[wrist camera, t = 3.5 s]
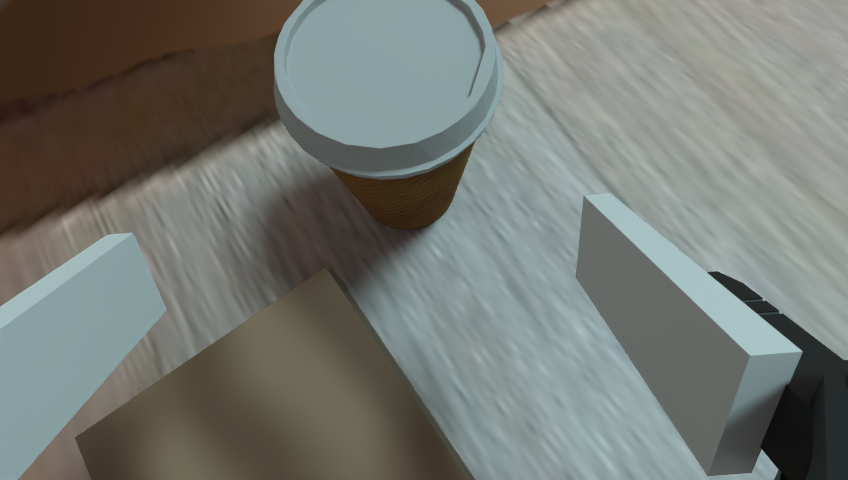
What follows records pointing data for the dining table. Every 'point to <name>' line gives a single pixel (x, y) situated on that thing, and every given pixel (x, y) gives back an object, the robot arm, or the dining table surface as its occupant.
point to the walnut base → (280, 406)
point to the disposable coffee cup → (390, 97)
